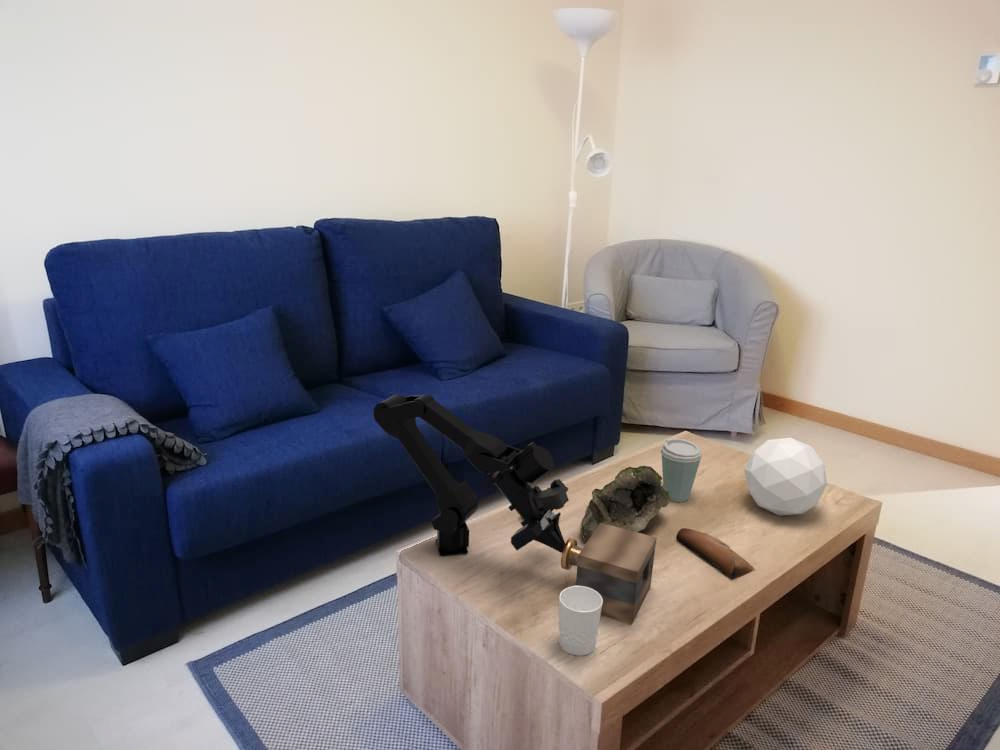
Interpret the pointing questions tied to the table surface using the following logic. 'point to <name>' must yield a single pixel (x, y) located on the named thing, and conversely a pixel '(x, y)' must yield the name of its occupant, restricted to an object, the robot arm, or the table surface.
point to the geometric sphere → (785, 476)
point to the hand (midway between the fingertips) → (565, 551)
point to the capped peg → (570, 554)
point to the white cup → (579, 619)
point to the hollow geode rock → (626, 501)
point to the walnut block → (617, 570)
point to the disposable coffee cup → (679, 467)
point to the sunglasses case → (715, 552)
